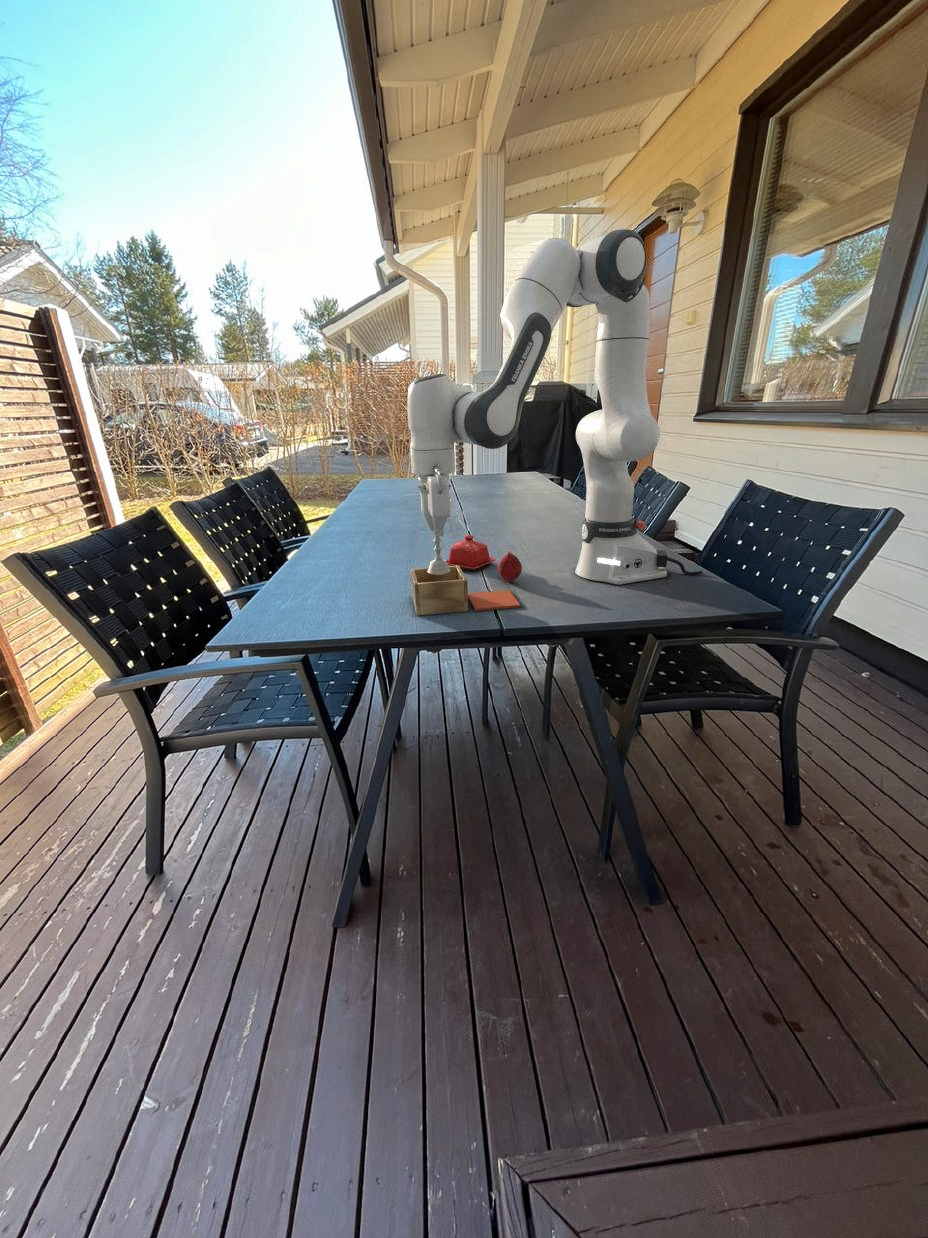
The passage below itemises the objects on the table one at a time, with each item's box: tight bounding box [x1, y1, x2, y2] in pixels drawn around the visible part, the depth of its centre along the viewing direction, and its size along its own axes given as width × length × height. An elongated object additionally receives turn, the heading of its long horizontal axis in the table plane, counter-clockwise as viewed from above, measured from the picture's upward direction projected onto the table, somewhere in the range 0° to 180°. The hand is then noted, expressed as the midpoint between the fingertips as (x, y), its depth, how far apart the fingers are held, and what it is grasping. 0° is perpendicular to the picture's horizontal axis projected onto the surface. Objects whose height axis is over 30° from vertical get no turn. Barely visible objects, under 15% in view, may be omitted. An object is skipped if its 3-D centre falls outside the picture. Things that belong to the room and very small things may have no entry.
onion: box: [497, 550, 523, 584], centre depth 128 cm, size 6×6×8 cm
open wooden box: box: [410, 565, 469, 616], centre depth 115 cm, size 11×11×7 cm
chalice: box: [417, 484, 452, 575], centre depth 110 cm, size 7×7×18 cm
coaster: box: [468, 589, 521, 612], centre depth 117 cm, size 10×10×1 cm
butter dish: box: [445, 534, 497, 571], centre depth 142 cm, size 12×12×8 cm
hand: (436, 531), depth 110 cm, fingers closed on chalice, 5 cm apart
